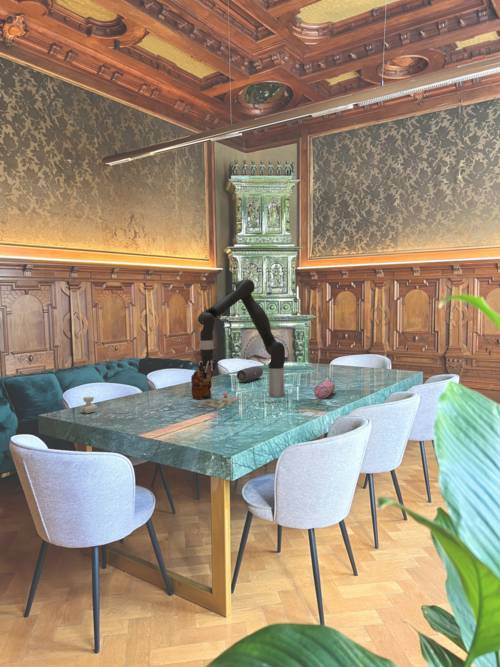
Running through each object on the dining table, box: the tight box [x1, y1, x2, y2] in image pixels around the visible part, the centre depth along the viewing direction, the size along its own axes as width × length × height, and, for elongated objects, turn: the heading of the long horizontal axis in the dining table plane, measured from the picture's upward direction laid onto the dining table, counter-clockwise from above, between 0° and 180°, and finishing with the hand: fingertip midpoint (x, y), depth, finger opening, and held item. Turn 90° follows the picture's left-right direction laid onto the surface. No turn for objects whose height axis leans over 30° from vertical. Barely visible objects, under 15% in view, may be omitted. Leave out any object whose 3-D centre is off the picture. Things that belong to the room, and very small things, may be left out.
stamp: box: [79, 396, 98, 414], centre depth 243 cm, size 9×7×8 cm
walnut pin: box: [204, 366, 212, 382], centre depth 255 cm, size 4×4×8 cm
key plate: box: [220, 391, 241, 402], centre depth 268 cm, size 8×8×4 cm
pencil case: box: [313, 378, 336, 399], centre depth 274 cm, size 21×9×9 cm, turn 157°
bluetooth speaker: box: [236, 365, 264, 383], centre depth 330 cm, size 23×9×10 cm, turn 147°
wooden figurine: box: [190, 368, 213, 401], centre depth 273 cm, size 12×6×18 cm, turn 121°
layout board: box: [199, 398, 235, 409], centre depth 257 cm, size 14×14×1 cm
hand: (207, 378), depth 255 cm, fingers closed on walnut pin, 4 cm apart
